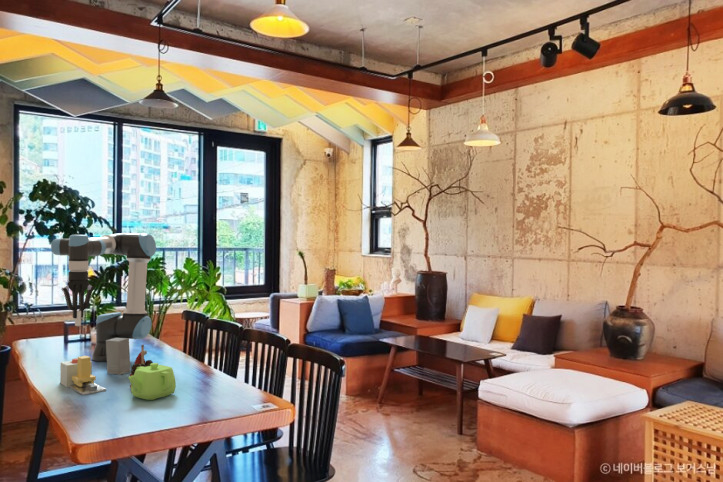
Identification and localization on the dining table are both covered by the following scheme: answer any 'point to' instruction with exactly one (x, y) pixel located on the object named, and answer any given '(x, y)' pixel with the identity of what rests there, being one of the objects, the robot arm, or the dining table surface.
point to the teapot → (152, 381)
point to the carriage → (83, 371)
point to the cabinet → (69, 372)
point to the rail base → (85, 391)
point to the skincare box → (118, 356)
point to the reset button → (74, 360)
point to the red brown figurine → (140, 361)
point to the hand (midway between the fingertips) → (77, 325)
